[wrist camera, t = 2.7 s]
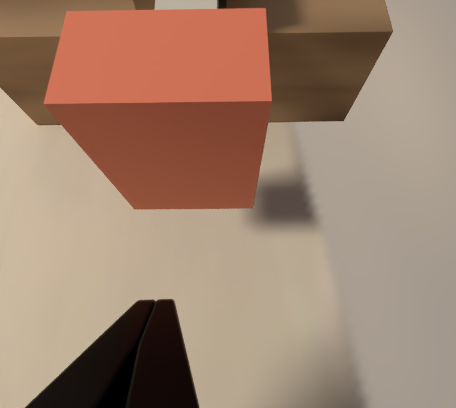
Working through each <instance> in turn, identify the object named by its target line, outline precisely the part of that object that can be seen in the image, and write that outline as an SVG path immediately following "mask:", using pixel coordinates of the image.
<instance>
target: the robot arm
mask: <svg viewBox="0 0 456 408" xmlns="http://www.w3.org/2000/svg"><path fill="white" fill-rule="evenodd" d="M25 408H199V404H198V399H197V395H196V391H195V387H194V382H193V378H192V374H191V370H190V365H189V361H188V357H187V353H186V348H185V344H184V340H183V336H182V331H181V327H180V323H179V318H178V314H177V310H176V306H175V302H174V300H173V299H159V300H157V301H155V300H139V301H137V302H136V303H135V304H134V305H132V306H131V307H130V308H129V309H128V310H127V311H126V312H125V313H124V314H123V315H122V316H121V317H120V318H119V319H118V320H117V321H116V322H115V323H113V324H112V325H111V326H110V327H109V328H108V329H107V330H106V331H105V332H104V333H103V334H102V335H101V336H100V337H99V338H98V339H97V340H96V341H95V342H93V343H92V344H91V345H90V346H89V347H88V348H87V349H86V350H85V351H84V352H83V353H82V354H81V355H80V356H79V357H78V358H77V359H76V360H75V361H73V362H72V363H71V364H70V365H69V366H68V367H67V368H66V369H65V370H64V371H63V372H62V373H61V374H60V375H59V376H58V377H57V378H56V379H54V380H53V381H52V382H51V383H50V384H49V385H48V386H47V387H46V388H45V389H44V390H43V391H42V392H41V393H40V394H39V395H38V396H37V397H36V398H34V399H33V400H32V401H31V402H30V403H29V404H28V405H27V406H26V407H25Z"/></svg>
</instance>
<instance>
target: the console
mask: <svg viewBox="0 0 456 408" xmlns="http://www.w3.org/2000/svg"><path fill="white" fill-rule="evenodd" d="M154 8H155V0H0V88H1V89H2V90H3V91H4V92H5V93H6V94H7V95H8V96H9V97H10V98H11V99H12V100H13V101H14V102H15V103H16V104H17V105H18V106H19V107H20V108H21V109H22V110H23V111H24V112H25V113H26V114H27V115H28V116H29V117H30V118H31V119H32V120H33V121H34V122H35V123H36V124H37V125H55V124H60V122H59V121H58V120H57V119H56V118H55V117H54V116H53V114H52V113H51V112H50V111H49V110H48V109H47V107H46V106H45V105H44V100H45V96H46V92H47V88H48V84H49V80H50V76H51V72H52V68H53V64H54V60H55V56H56V52H57V48H58V44H59V40H60V36H61V32H62V28H63V24H64V20H65V16H66V12H67V11H109V10H154ZM236 8H266V20H267V35H268V50H269V65H270V80H271V95H272V103H271V109H270V115H269V120H268V122H301V121H302V122H303V121H304V122H305V121H344V119H345V117H346V115H347V114H348V112H349V110H350V108H351V107H352V105H353V103H354V101H355V99H356V98H357V96H358V94H359V92H360V90H361V88H362V87H363V85H364V83H365V81H366V79H367V78H368V76H369V74H370V72H371V70H372V68H373V67H374V65H375V63H376V61H377V59H378V58H379V56H380V54H381V52H382V50H383V48H384V47H385V45H386V43H387V41H388V40H389V38H390V36H391V34H392V32H393V30H392V26H391V22H390V18H389V15H388V10H387V7H386V3H385V0H220V9H236Z"/></svg>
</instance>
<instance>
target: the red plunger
mask: <svg viewBox="0 0 456 408" xmlns="http://www.w3.org/2000/svg"><path fill="white" fill-rule="evenodd" d="M271 103H272V95H271V80H270V65H269V50H268V35H267V20H266V8H236V9H220V0H155V8H154V10H109V11H67V12H66V16H65V20H64V24H63V28H62V32H61V36H60V40H59V44H58V48H57V52H56V56H55V60H54V64H53V68H52V72H51V76H50V80H49V84H48V88H47V92H46V96H45V100H44V105H45V106H46V107H47V109H48V110H49V111H50V112H51V113H52V114H53V116H54V117H55V118H56V119H57V120H58V121H59V122H60V124H61V125H62V126H63V127H64V128H65V129H66V131H67V132H68V133H69V134H70V135H71V136H72V138H73V139H74V140H75V141H76V142H77V143H78V144H79V146H80V147H81V148H82V149H83V150H84V151H85V153H86V154H87V155H88V156H89V157H90V158H91V159H92V161H93V162H94V163H95V164H96V165H97V166H98V168H99V169H100V170H101V171H102V172H103V173H104V175H105V176H106V177H107V178H108V179H109V180H110V181H111V183H112V184H113V185H114V186H115V187H116V188H117V190H118V191H119V192H120V193H121V194H122V195H123V196H124V198H125V199H126V200H127V201H128V202H129V203H130V205H131V206H132V207H133V208H134V209H228V208H253V204H254V199H255V193H256V187H257V182H258V176H259V171H260V165H261V159H262V154H263V148H264V143H265V137H266V131H267V126H268V120H269V115H270V109H271Z"/></svg>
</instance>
